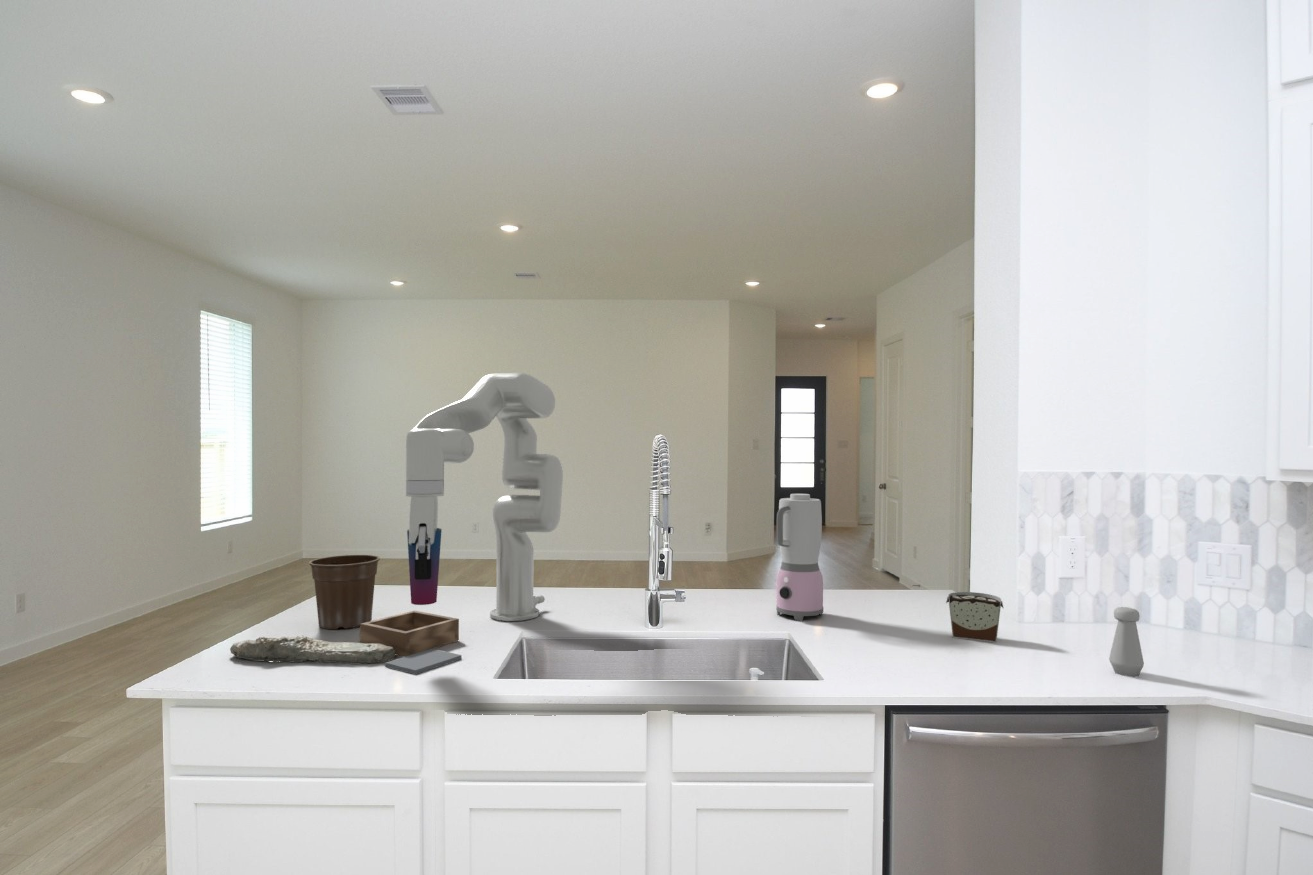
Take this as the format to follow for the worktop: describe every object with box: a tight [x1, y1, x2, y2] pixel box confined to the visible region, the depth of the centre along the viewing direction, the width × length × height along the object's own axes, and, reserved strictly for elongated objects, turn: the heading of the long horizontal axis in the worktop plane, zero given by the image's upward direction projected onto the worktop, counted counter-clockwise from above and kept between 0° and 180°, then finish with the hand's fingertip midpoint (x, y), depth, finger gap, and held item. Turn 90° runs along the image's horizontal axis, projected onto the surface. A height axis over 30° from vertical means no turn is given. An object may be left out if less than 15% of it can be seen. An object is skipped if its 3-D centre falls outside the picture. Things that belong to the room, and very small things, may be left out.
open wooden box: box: [359, 610, 460, 657], centre depth 165 cm, size 15×15×5 cm
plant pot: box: [308, 554, 381, 630], centre depth 182 cm, size 16×16×16 cm
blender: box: [775, 493, 824, 621], centre depth 192 cm, size 16×12×32 cm
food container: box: [945, 591, 1005, 643], centre depth 173 cm, size 12×6×10 cm, turn 65°
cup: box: [406, 527, 443, 606], centre depth 151 cm, size 7×7×15 cm
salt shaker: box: [1108, 606, 1145, 678], centre depth 146 cm, size 6×6×13 cm
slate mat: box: [384, 648, 462, 675], centre depth 151 cm, size 12×9×1 cm
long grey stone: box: [229, 635, 396, 664], centre depth 154 cm, size 35×5×10 cm
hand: (424, 575), depth 151 cm, fingers closed on cup, 6 cm apart
